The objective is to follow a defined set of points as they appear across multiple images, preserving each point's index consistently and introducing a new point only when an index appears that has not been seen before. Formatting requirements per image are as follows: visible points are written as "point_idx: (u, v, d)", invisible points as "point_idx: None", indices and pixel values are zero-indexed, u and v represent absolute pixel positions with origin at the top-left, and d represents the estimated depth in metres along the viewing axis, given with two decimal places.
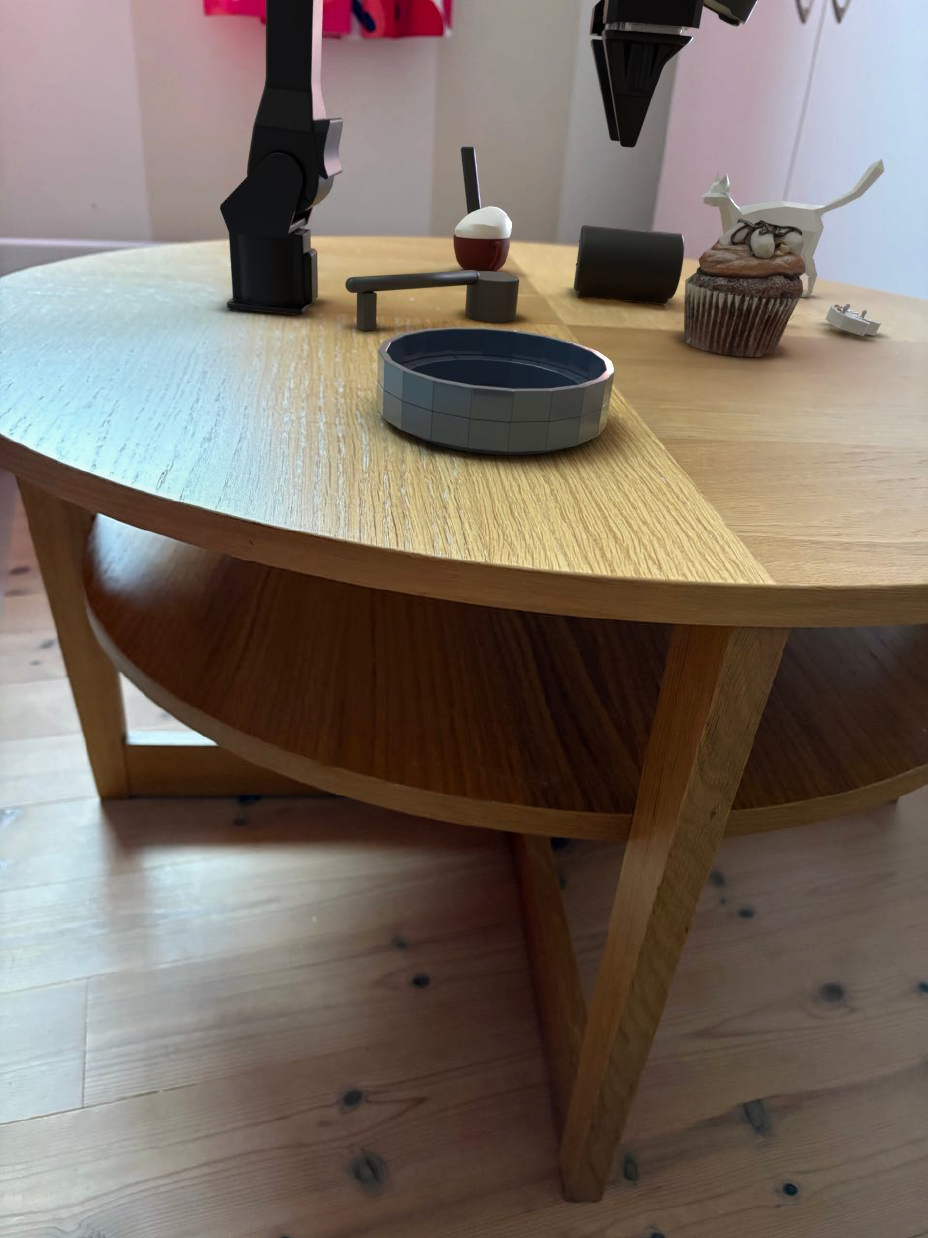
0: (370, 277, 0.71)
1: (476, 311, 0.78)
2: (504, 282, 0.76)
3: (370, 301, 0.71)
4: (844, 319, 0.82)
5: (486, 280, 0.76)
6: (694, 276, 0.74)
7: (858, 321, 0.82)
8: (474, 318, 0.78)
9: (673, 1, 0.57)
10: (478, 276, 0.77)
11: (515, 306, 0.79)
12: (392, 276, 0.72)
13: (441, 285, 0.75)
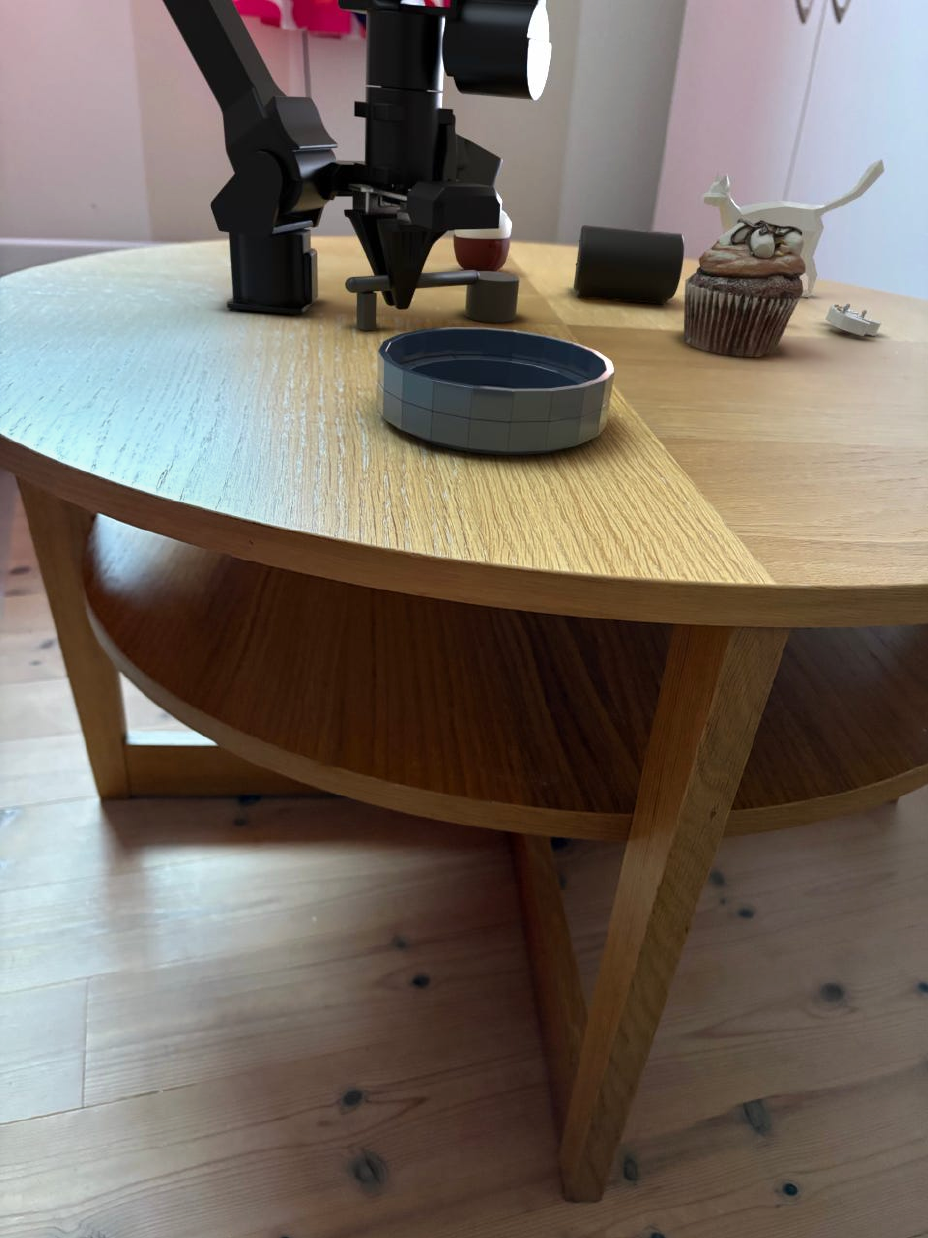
0: (370, 277, 0.71)
1: (476, 311, 0.78)
2: (504, 282, 0.76)
3: (370, 301, 0.71)
4: (844, 319, 0.82)
5: (486, 280, 0.76)
6: (694, 276, 0.74)
7: (858, 321, 0.82)
8: (474, 318, 0.78)
9: (484, 209, 0.64)
10: (478, 276, 0.77)
11: (515, 306, 0.79)
12: None
13: (441, 285, 0.75)
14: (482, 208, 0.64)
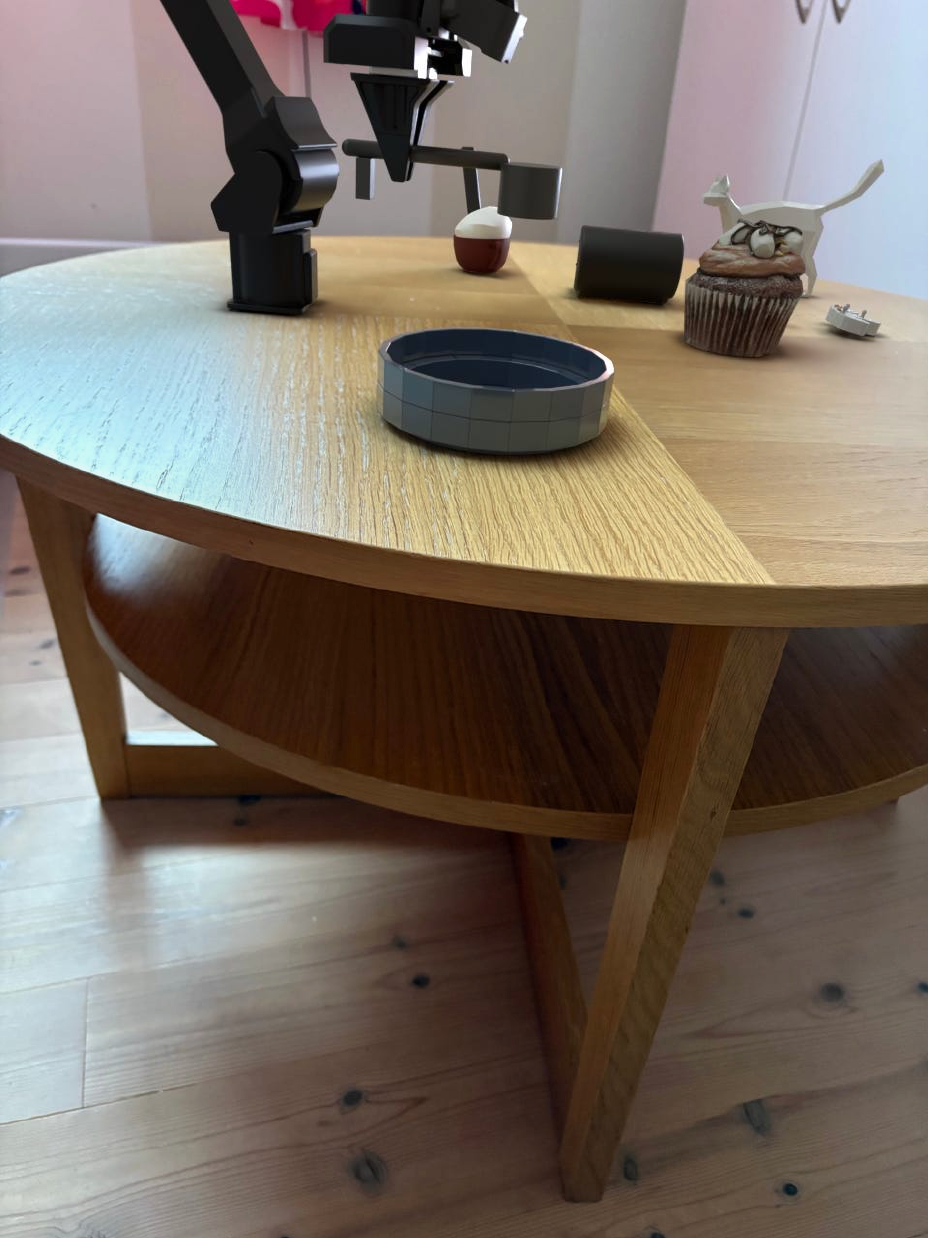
0: (367, 141, 0.68)
1: (498, 202, 0.68)
2: (519, 167, 0.65)
3: (362, 166, 0.68)
4: (844, 319, 0.82)
5: (505, 164, 0.66)
6: (694, 276, 0.74)
7: (858, 321, 0.82)
8: (497, 211, 0.68)
9: (382, 43, 0.56)
10: (503, 160, 0.66)
11: (540, 201, 0.66)
12: None
13: (453, 163, 0.67)
14: (378, 41, 0.56)
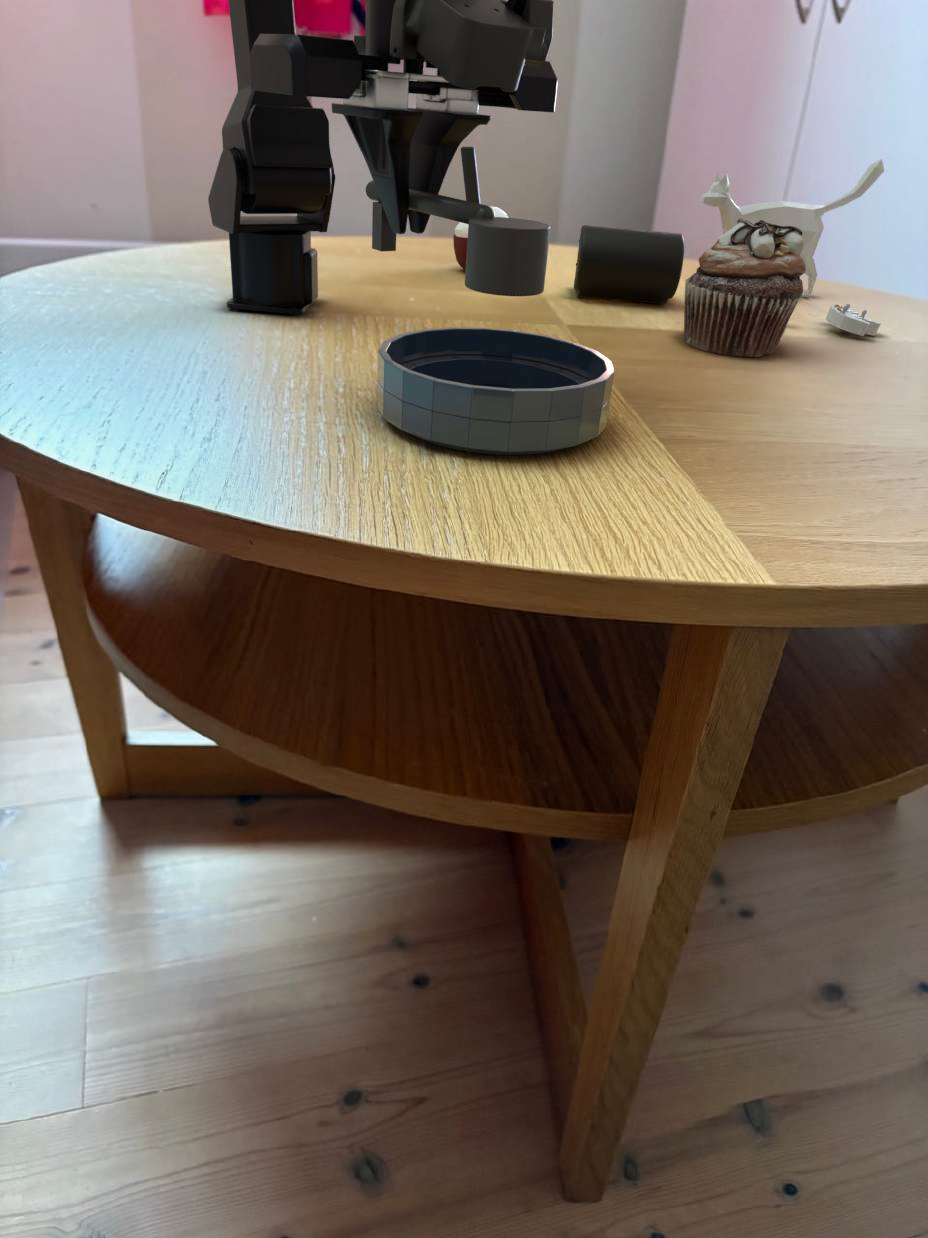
0: None
1: None
2: (472, 223, 0.49)
3: (376, 213, 0.59)
4: (844, 319, 0.82)
5: (472, 219, 0.50)
6: (694, 276, 0.74)
7: (858, 321, 0.82)
8: None
9: (278, 65, 0.47)
10: (480, 214, 0.51)
11: (491, 270, 0.49)
12: None
13: (441, 215, 0.54)
14: (277, 63, 0.47)
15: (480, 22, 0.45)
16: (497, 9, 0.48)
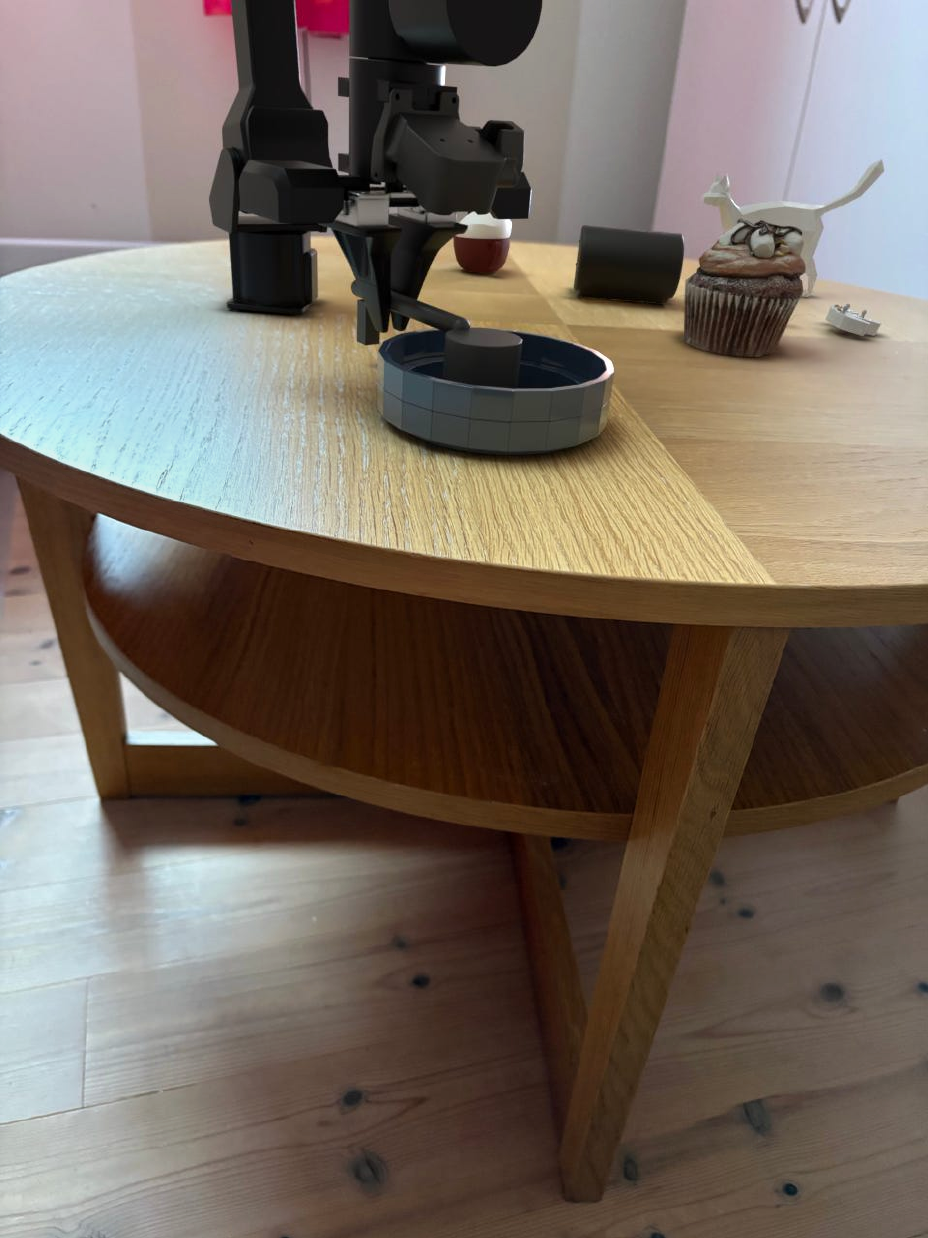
0: None
1: None
2: (448, 339, 0.52)
3: (361, 310, 0.62)
4: (844, 319, 0.82)
5: (449, 332, 0.53)
6: (694, 276, 0.74)
7: (858, 321, 0.82)
8: None
9: (266, 194, 0.50)
10: (456, 326, 0.54)
11: (466, 382, 0.52)
12: None
13: (421, 321, 0.57)
14: (264, 191, 0.50)
15: (454, 159, 0.48)
16: (471, 140, 0.51)
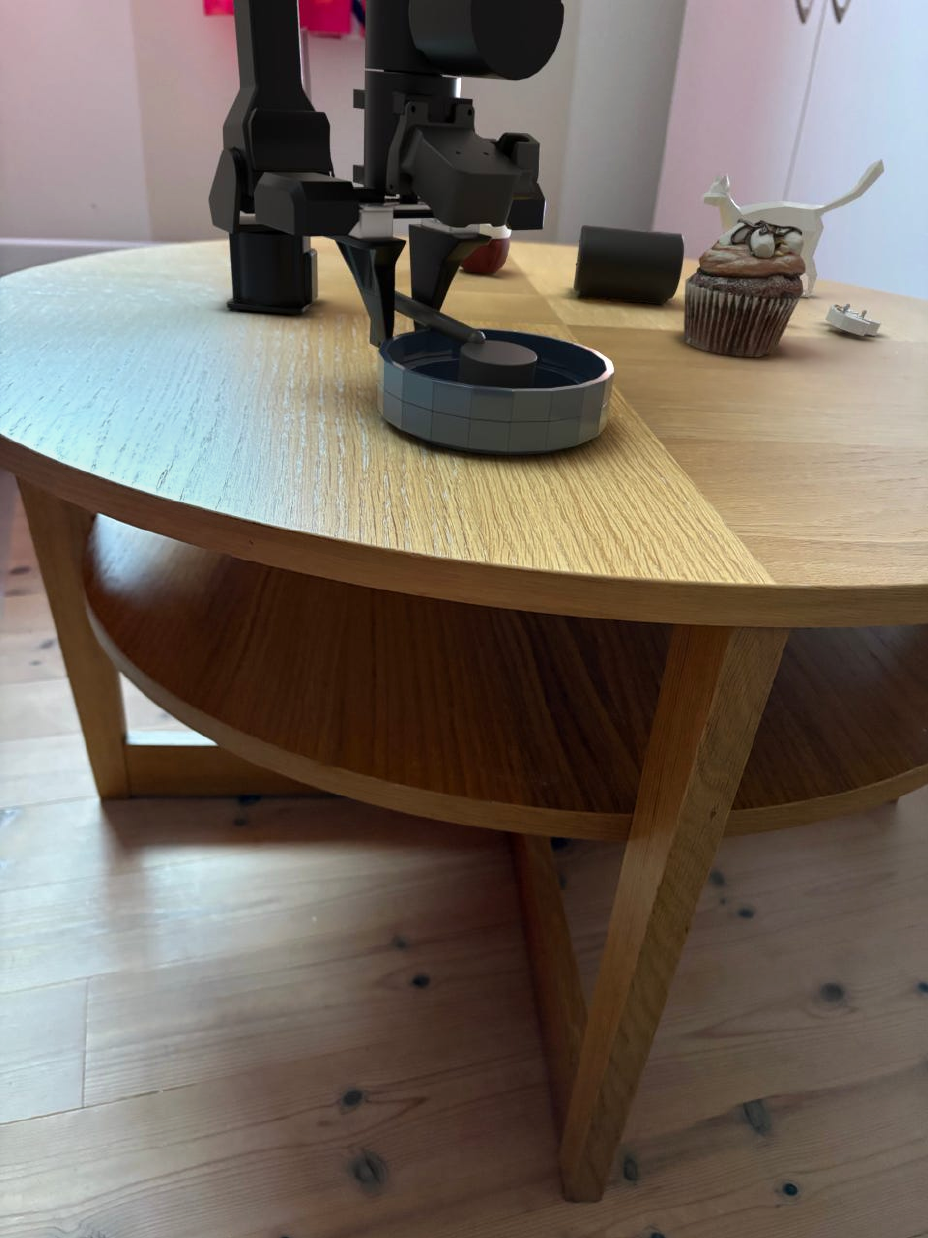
0: None
1: None
2: (463, 354, 0.52)
3: None
4: (844, 319, 0.82)
5: (464, 346, 0.53)
6: (694, 276, 0.74)
7: (858, 321, 0.82)
8: None
9: (281, 206, 0.50)
10: (471, 339, 0.54)
11: None
12: (397, 295, 0.59)
13: (435, 330, 0.57)
14: (280, 204, 0.50)
15: (470, 172, 0.48)
16: (487, 152, 0.51)
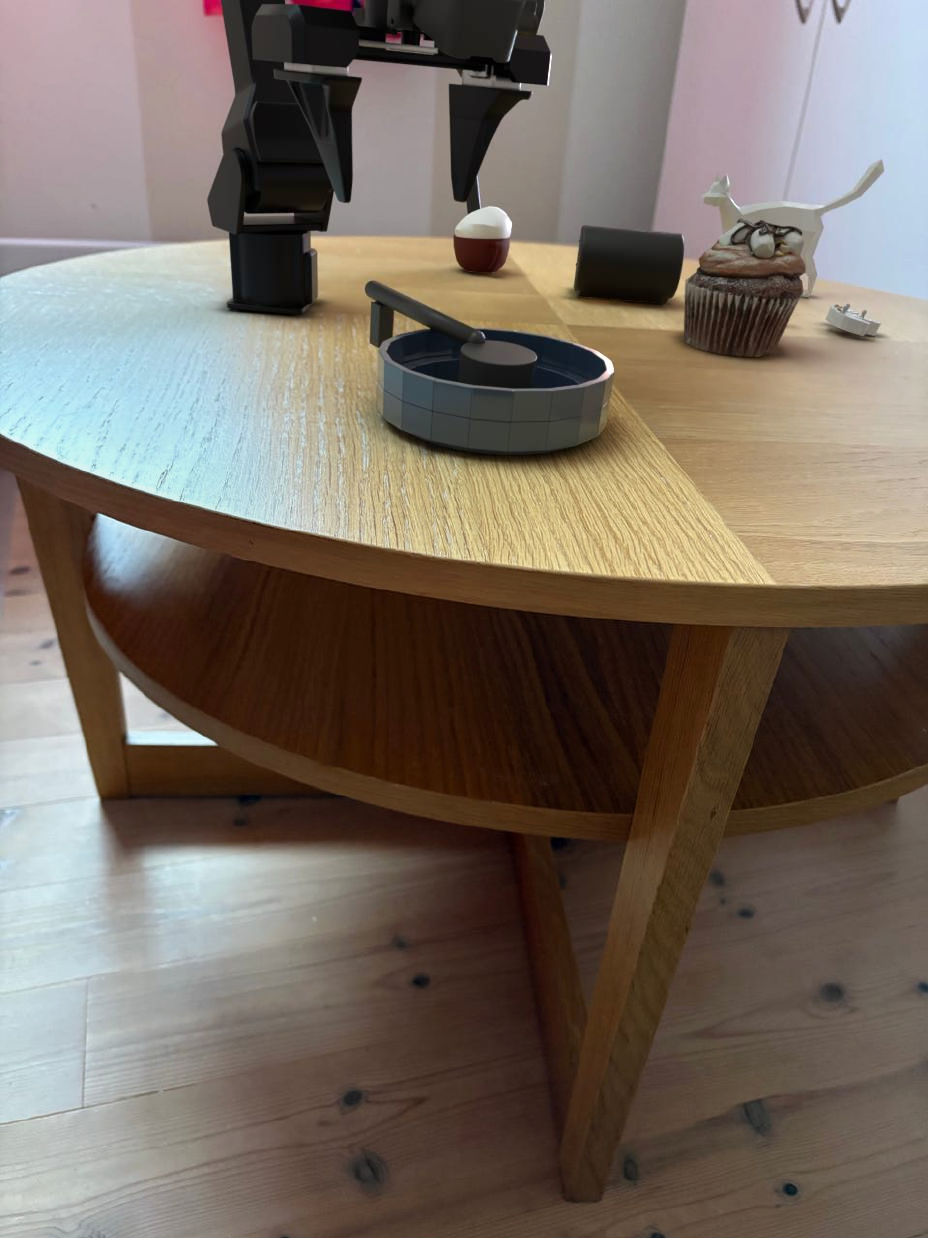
0: (382, 287, 0.61)
1: None
2: (463, 354, 0.52)
3: (374, 312, 0.62)
4: (844, 319, 0.82)
5: (464, 346, 0.53)
6: (694, 276, 0.74)
7: (858, 321, 0.82)
8: None
9: (279, 34, 0.49)
10: (471, 339, 0.54)
11: None
12: (397, 295, 0.59)
13: (435, 330, 0.57)
14: (277, 32, 0.49)
15: None
16: None
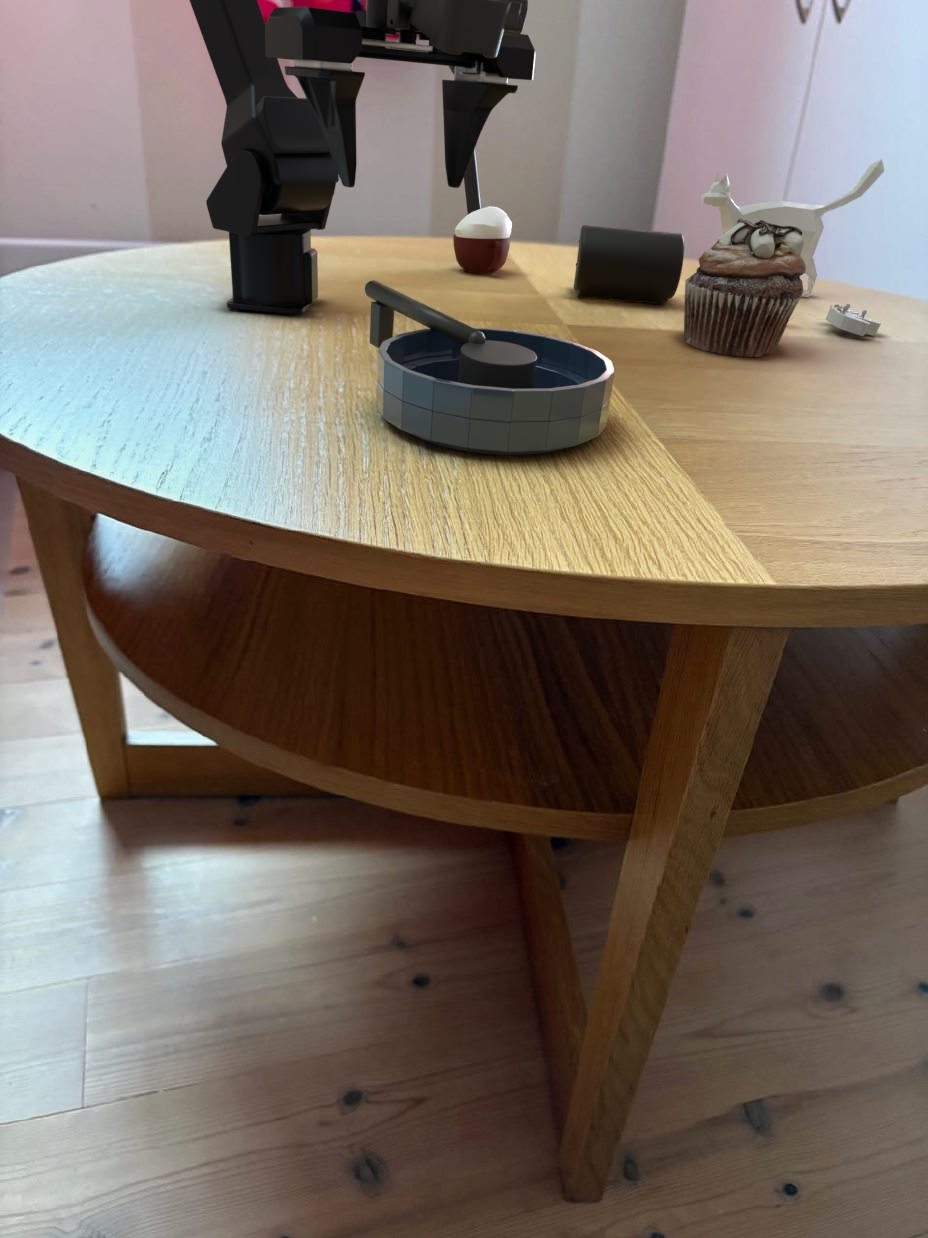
0: (382, 287, 0.61)
1: None
2: (463, 354, 0.52)
3: (374, 312, 0.62)
4: (844, 319, 0.82)
5: (464, 346, 0.53)
6: (694, 276, 0.74)
7: (858, 321, 0.82)
8: None
9: (291, 34, 0.55)
10: (471, 339, 0.54)
11: None
12: (397, 295, 0.59)
13: (435, 330, 0.57)
14: (289, 32, 0.55)
15: None
16: None
